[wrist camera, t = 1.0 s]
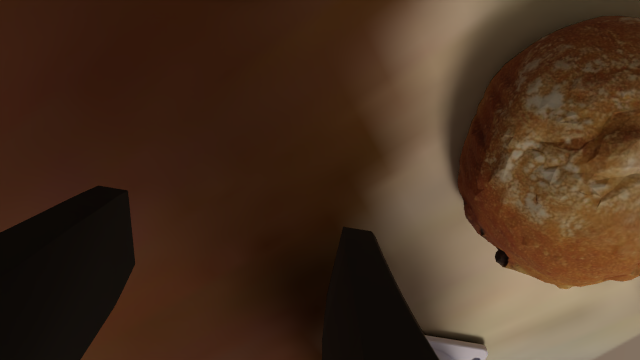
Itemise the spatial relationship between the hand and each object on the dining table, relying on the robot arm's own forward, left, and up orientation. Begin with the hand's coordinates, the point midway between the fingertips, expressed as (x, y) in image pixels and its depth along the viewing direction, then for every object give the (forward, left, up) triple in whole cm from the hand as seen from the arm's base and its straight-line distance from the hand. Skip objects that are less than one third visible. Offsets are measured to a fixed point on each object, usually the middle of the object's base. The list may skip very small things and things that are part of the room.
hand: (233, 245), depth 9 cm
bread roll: (0, -12, -10) cm, 15 cm away
